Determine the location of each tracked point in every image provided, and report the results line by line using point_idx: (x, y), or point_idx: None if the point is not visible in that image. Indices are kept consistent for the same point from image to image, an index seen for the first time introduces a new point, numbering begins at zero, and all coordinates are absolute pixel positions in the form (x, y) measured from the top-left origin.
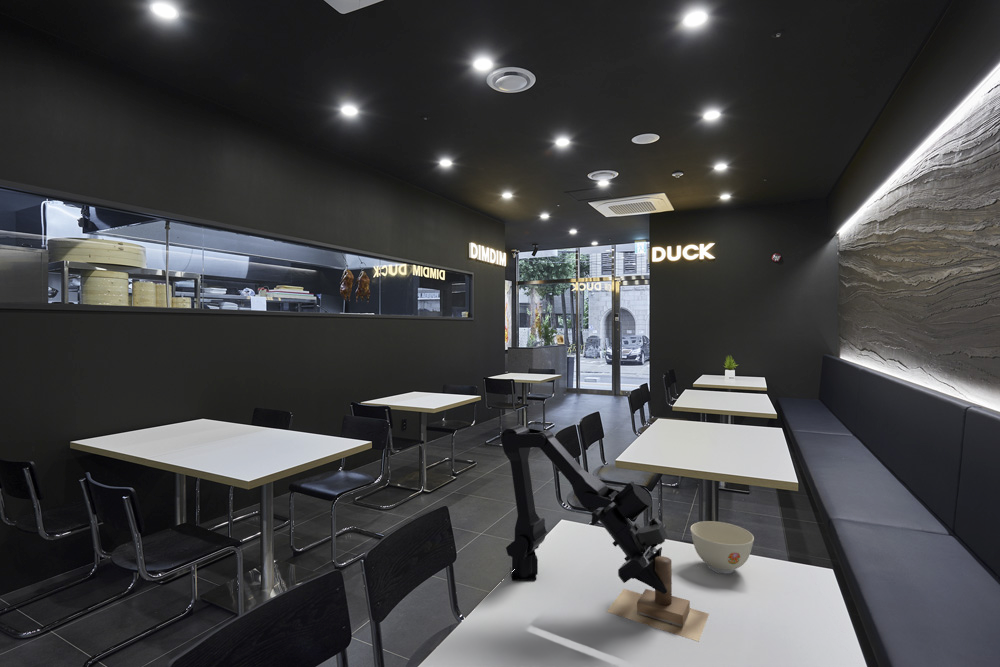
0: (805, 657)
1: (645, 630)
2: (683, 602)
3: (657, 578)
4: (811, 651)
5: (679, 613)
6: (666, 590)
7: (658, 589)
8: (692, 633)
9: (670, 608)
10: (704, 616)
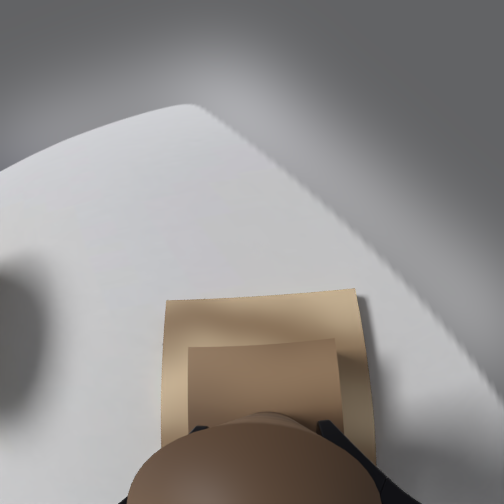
0: (231, 131)
1: (379, 455)
2: (219, 367)
3: (387, 481)
4: (204, 129)
5: (328, 354)
6: (331, 422)
7: None
8: (326, 316)
9: (310, 401)
10: (191, 310)
